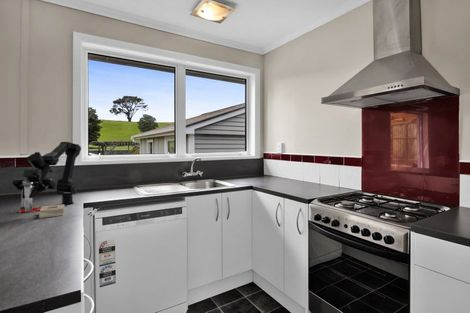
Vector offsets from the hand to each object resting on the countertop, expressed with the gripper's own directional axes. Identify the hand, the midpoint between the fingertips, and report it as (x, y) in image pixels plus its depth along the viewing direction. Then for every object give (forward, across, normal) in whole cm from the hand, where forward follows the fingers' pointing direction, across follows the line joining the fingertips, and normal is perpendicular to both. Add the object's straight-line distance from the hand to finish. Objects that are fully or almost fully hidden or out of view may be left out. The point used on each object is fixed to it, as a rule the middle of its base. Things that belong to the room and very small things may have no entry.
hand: (26, 197), depth 127 cm
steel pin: (+4, 0, +6) cm, 7 cm away
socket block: (+2, +8, +12) cm, 15 cm away
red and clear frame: (-4, -10, +20) cm, 22 cm away
